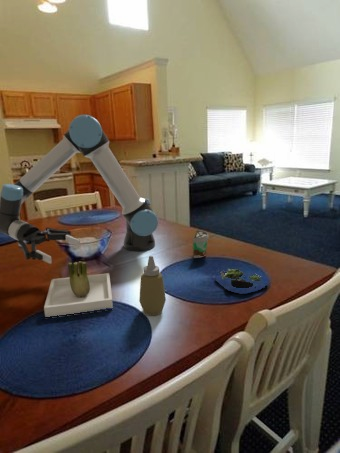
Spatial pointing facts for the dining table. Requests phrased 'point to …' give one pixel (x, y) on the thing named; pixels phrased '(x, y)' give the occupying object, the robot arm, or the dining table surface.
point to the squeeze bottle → (152, 289)
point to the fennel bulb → (79, 279)
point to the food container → (200, 243)
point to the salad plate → (235, 275)
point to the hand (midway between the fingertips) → (65, 251)
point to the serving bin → (69, 303)
